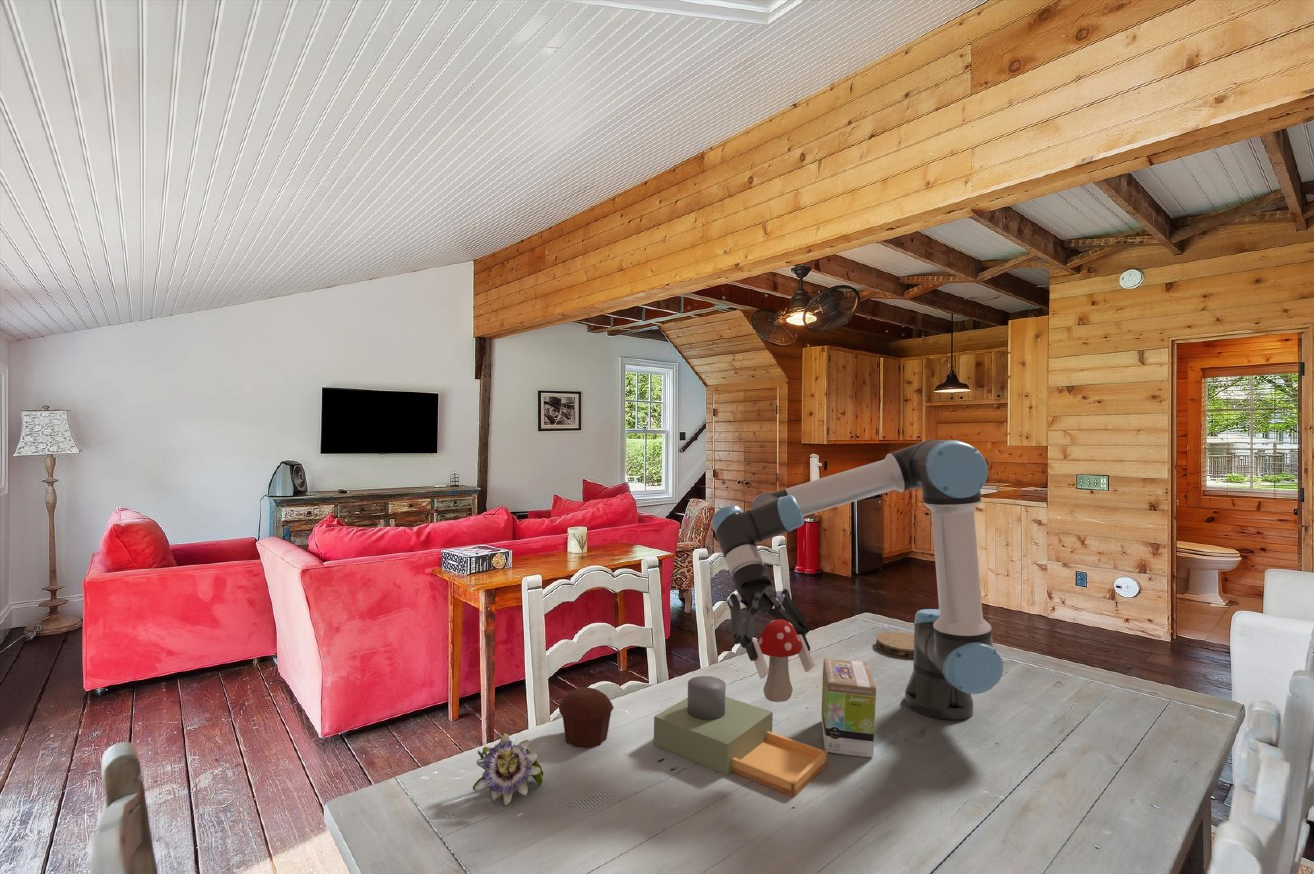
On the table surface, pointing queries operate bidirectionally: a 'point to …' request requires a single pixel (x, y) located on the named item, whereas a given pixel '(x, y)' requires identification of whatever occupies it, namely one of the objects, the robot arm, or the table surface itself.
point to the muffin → (586, 717)
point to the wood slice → (896, 644)
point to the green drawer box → (735, 738)
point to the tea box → (848, 707)
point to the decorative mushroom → (779, 657)
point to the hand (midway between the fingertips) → (787, 671)
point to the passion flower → (508, 769)
